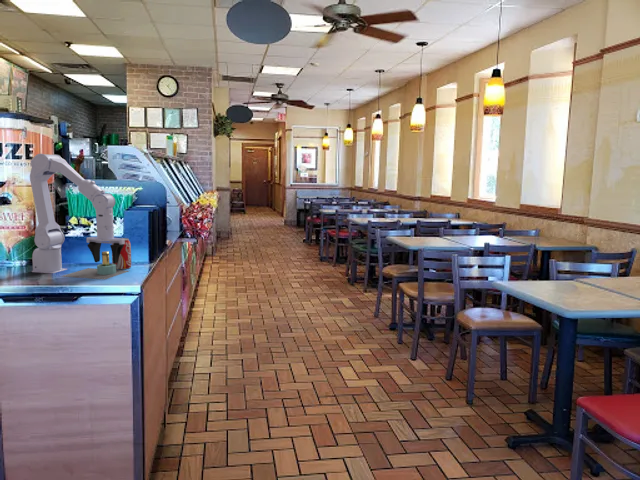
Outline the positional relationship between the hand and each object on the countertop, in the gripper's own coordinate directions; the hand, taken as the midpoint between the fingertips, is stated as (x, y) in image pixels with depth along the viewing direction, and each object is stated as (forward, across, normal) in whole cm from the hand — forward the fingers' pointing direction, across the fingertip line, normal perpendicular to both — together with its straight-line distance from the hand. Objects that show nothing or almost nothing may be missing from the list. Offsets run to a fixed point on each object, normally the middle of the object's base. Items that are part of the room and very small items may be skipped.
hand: (106, 262), depth 189 cm
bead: (+4, 0, 0) cm, 4 cm away
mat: (+4, -3, -2) cm, 6 cm away
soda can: (+5, 0, +10) cm, 11 cm away
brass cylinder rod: (+4, 0, 0) cm, 4 cm away
